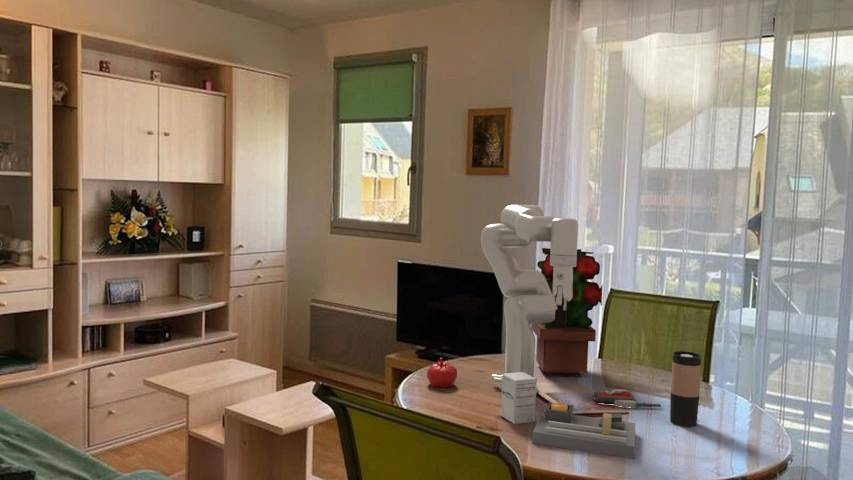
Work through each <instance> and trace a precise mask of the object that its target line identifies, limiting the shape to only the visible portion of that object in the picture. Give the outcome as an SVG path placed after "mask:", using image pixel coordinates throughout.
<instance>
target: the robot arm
mask: <svg viewBox="0 0 853 480" xmlns="http://www.w3.org/2000/svg"><path fill="white" fill-rule="evenodd" d="M500 221H501V223H492V224H489V225H486V226H484V227H483V229H482V231H481V233H480V245H481V250H482V253H483V255H484V257H485V258H486V260H487V261H488V263H489V264H490V266H491V268H492V270H493V272H494V276H495V278H496V280H497V281H496V282H497V283H498V286H499V289H500V291H501V294H502V295H504V296H505V297H506V298H507V299H506V300H505V301H504V304H503V305H504V306H503V313H504V318H505V319H504V322H505V352H504V353H505V355H504V374H506V373H516V372H524V373H526V374H528V375H530V376H532V377H534V376H535V357H536V356H535V352H536V337H535V333H534V331H533V330H532V328H530V325H532V324H537V323H550V322H552V321H554V320H555V324H563V325H565V324H566V322H567V310H566V309H567V301H568V302H569V301H570V300H571V299H572V297H573V267H576V262H577V249H578V236H579V223H578V220H577V219H576V218H570V217H562V216H546V215H545V213H544V211H543V209H542V208H541V207H540V206H539V205H536V204H510V205H507V206H505V207H504V208H503V210H502V211H501V213H500ZM532 242H549V243H550V248H549V249H550V266H554V270H553V294H552V292H551V290H550V287H549V285H548V283H547V280H546V278H545V276H544V275H543V274H542V273H541V271H539V270H537V269H522V268H520V267H519V265H518V262H517V260H516V258H515V257H514V256H513V255H512V254H511V253H510V252H509V251H508V250H506V248H507V249H509V248H512V249H513V248H514V249H515V248H516V249H518V248H519V249H522V248H523V249H524V248H526V247H528V246H530V244H531V243H532ZM555 300H556V302H555ZM502 376H503V374H501V375H498V374H492V375H491V381H493V383H500V384H499V387H498V388H499V390H500V391H501V392H502ZM534 378H535V377H534ZM538 392H539V387H538V386H537V385H536V394H537V393H538Z"/></svg>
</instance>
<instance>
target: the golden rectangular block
mask: <svg viewBox="0 0 853 480" xmlns="http://www.w3.org/2000/svg"><path fill="white" fill-rule="evenodd" d="M612 414H613V413H605V412H603V413H602V415H603V426H602V434H603V435H611V419H612Z"/></svg>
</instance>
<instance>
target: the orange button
mask: <svg viewBox="0 0 853 480" xmlns="http://www.w3.org/2000/svg"><path fill="white" fill-rule="evenodd" d="M551 403H552V404H551V409H552V410H560V411H567V412H568V405H569V404H567V403H564V402H551Z"/></svg>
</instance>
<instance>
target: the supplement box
mask: <svg viewBox="0 0 853 480" xmlns="http://www.w3.org/2000/svg"><path fill="white" fill-rule="evenodd" d="M502 375H503V376H502V391H501V401H500V403H501V404H500V416H501V417H502V418H504V419H505V420H506V421H509V422H510V423H512V424H513V425H516V424H517V425H519V424H526V423H533V422H535V421H536V406H537V405H536V399H537V393H536V386H537V383H538V382H537V380H538V379H537V378H535V377H532V376H530V375H528V374H526V373H524V372H516V373H506V374H505V373H503V374H502Z"/></svg>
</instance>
